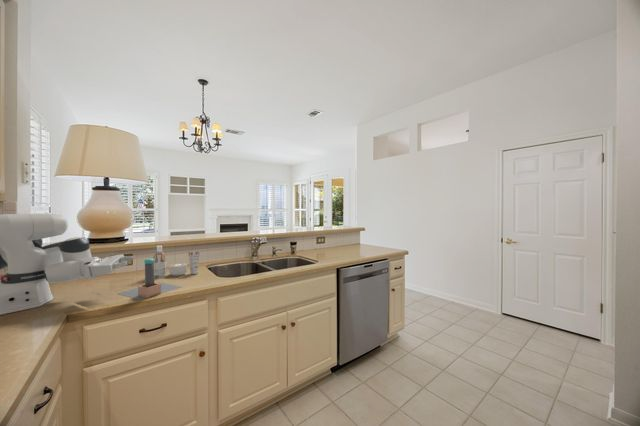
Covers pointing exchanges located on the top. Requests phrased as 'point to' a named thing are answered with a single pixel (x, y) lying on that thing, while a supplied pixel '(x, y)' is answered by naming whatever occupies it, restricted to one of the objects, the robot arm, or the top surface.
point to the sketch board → (164, 288)
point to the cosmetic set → (174, 268)
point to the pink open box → (149, 290)
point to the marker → (149, 272)
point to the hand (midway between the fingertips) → (130, 260)
